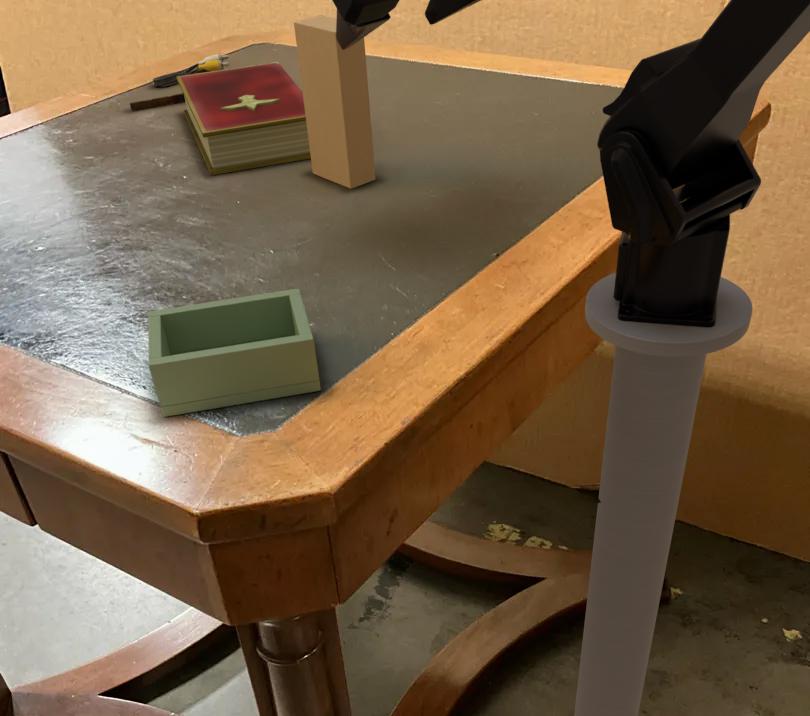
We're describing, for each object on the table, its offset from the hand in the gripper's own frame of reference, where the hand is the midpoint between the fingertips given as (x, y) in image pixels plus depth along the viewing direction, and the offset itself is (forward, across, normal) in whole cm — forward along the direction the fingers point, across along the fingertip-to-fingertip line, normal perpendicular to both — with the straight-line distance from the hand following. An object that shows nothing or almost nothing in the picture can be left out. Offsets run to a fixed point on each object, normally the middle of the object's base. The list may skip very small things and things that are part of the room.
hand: (386, 31), depth 72 cm
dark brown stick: (+39, -4, -20) cm, 44 cm away
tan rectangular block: (+15, 0, +4) cm, 16 cm away
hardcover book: (+28, -1, -8) cm, 29 cm away
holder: (-1, +27, +20) cm, 34 cm away
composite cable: (+45, -8, -25) cm, 52 cm away
